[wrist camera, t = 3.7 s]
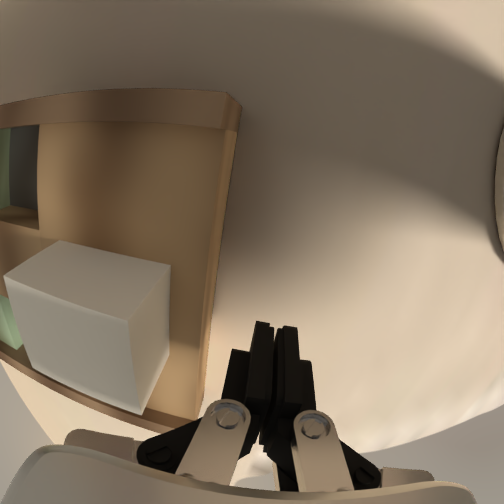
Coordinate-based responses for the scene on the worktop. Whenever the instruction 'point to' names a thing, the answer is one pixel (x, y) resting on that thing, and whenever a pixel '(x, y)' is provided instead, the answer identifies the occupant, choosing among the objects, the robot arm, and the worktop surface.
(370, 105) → the worktop surface
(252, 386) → the robot arm
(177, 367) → the box
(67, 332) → the cream block
